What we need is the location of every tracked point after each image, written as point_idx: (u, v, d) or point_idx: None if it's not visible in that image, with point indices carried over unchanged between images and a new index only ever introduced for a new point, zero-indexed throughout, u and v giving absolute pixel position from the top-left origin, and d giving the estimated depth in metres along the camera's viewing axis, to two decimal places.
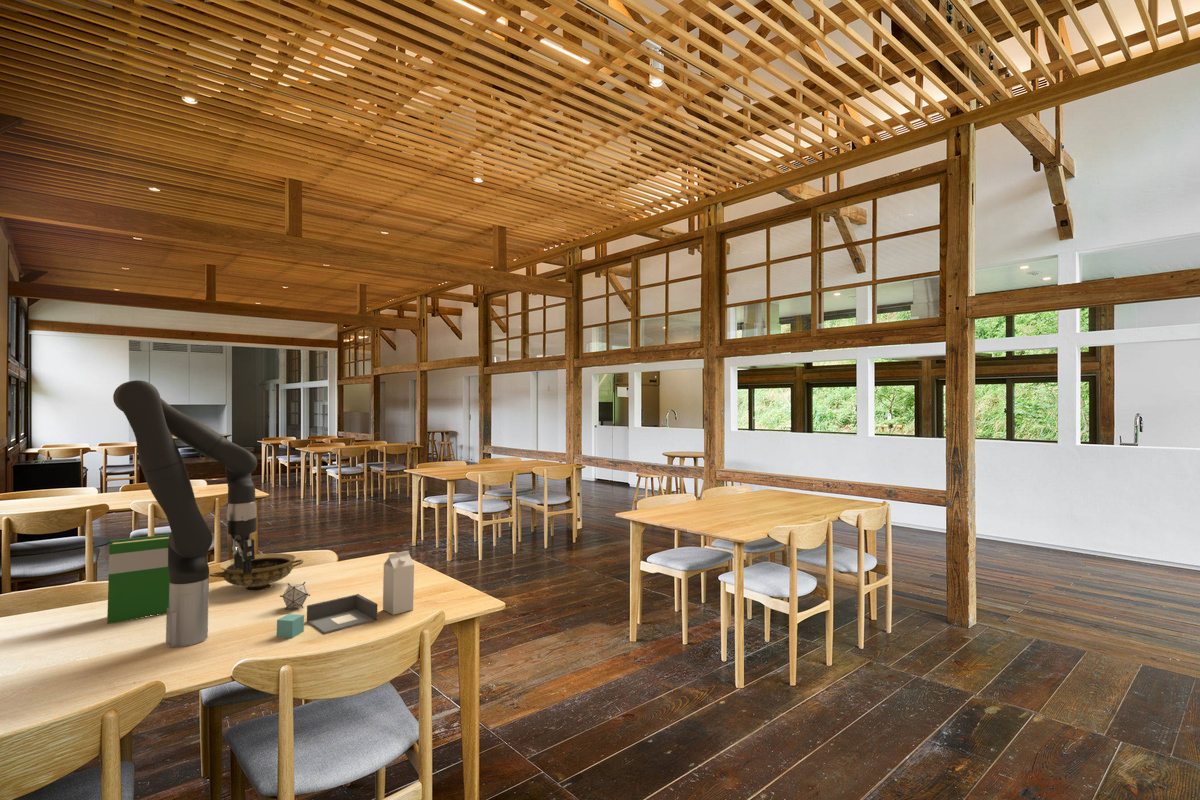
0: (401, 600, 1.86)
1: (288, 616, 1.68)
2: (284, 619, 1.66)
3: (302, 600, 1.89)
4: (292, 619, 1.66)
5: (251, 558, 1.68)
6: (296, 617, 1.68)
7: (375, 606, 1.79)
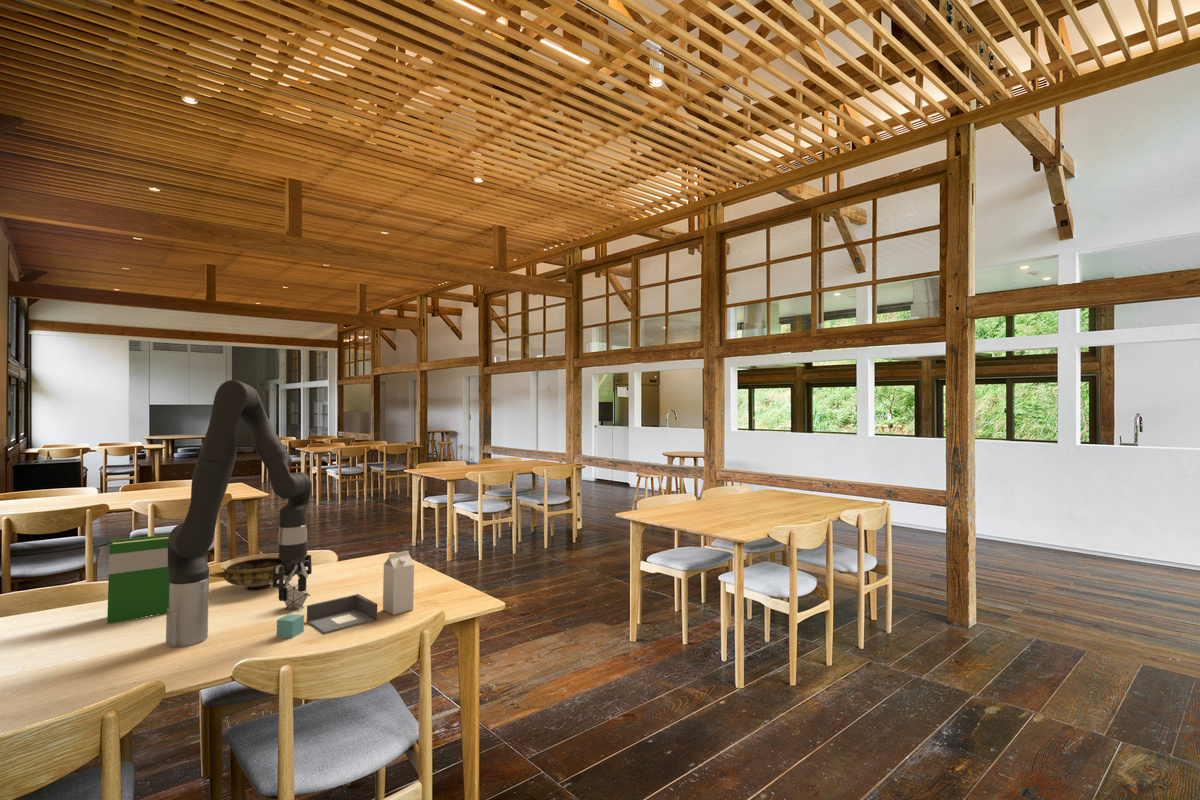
0: (401, 600, 1.86)
1: (288, 616, 1.68)
2: (284, 619, 1.66)
3: (302, 600, 1.89)
4: (292, 619, 1.66)
5: None
6: (296, 617, 1.68)
7: (375, 606, 1.79)
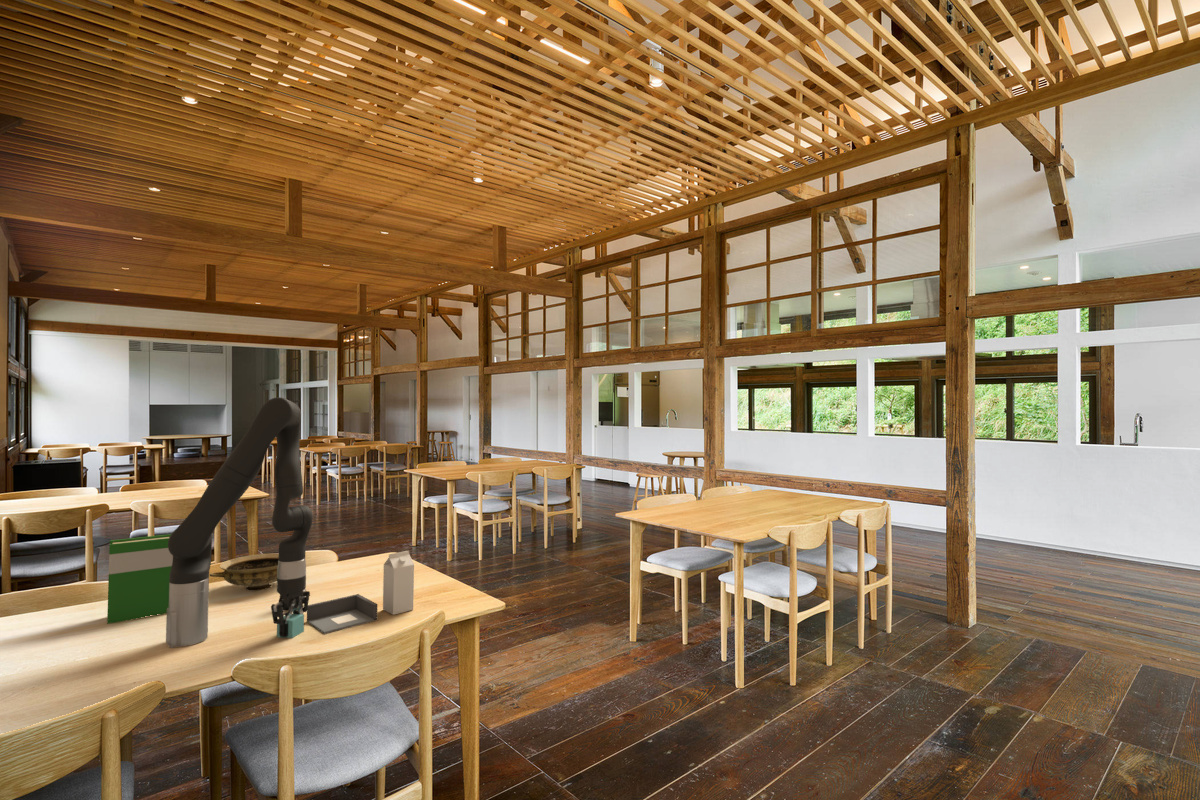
0: (401, 600, 1.86)
1: None
2: (284, 619, 1.66)
3: None
4: (292, 619, 1.66)
5: None
6: (296, 617, 1.68)
7: (375, 606, 1.79)
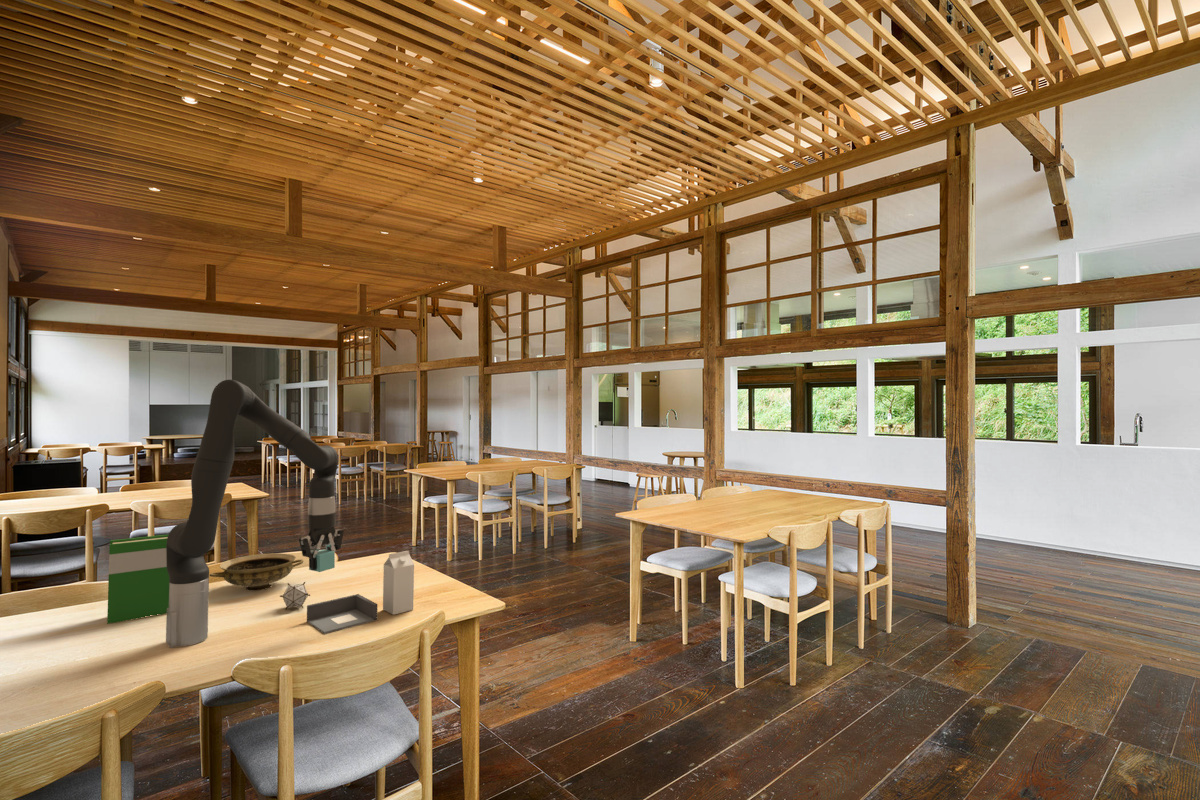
0: (401, 600, 1.86)
1: (321, 551, 1.75)
2: None
3: (302, 600, 1.89)
4: (320, 554, 1.72)
5: None
6: (326, 552, 1.73)
7: (375, 606, 1.79)
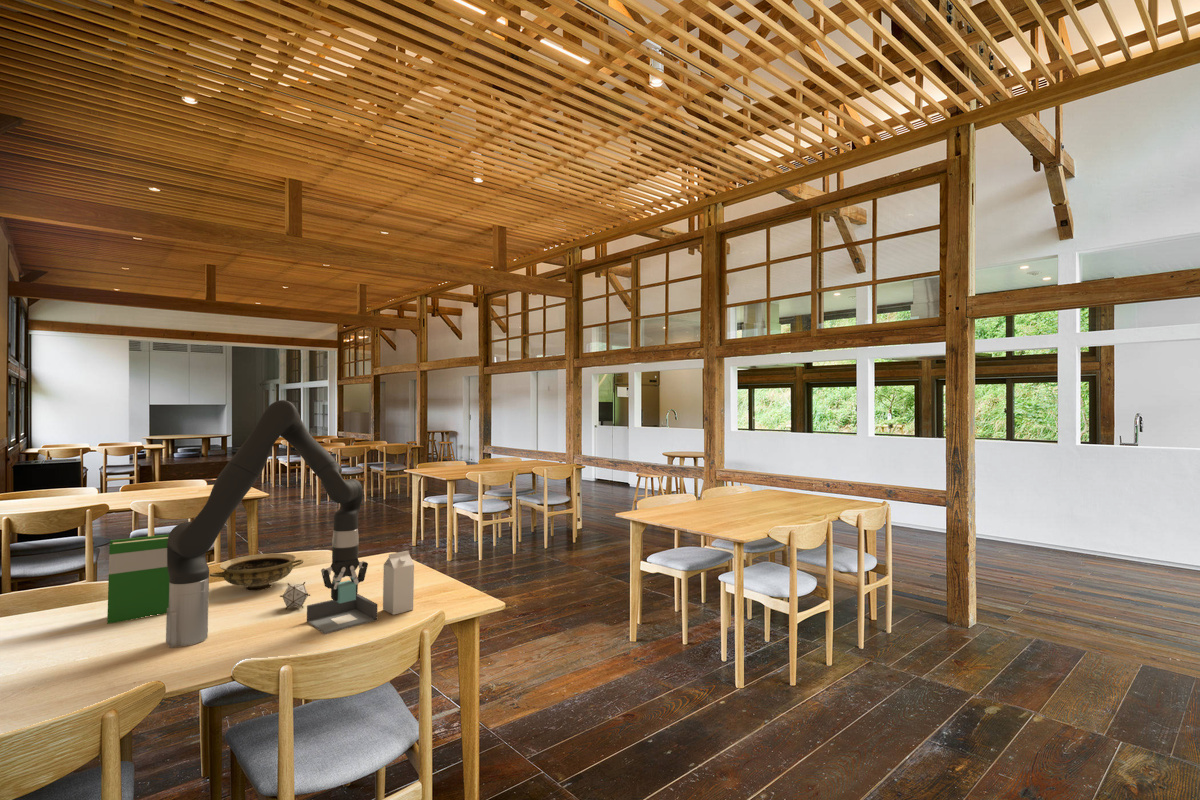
0: (401, 600, 1.86)
1: (344, 582, 1.80)
2: None
3: (302, 600, 1.89)
4: (341, 586, 1.76)
5: None
6: (347, 584, 1.78)
7: (375, 606, 1.79)
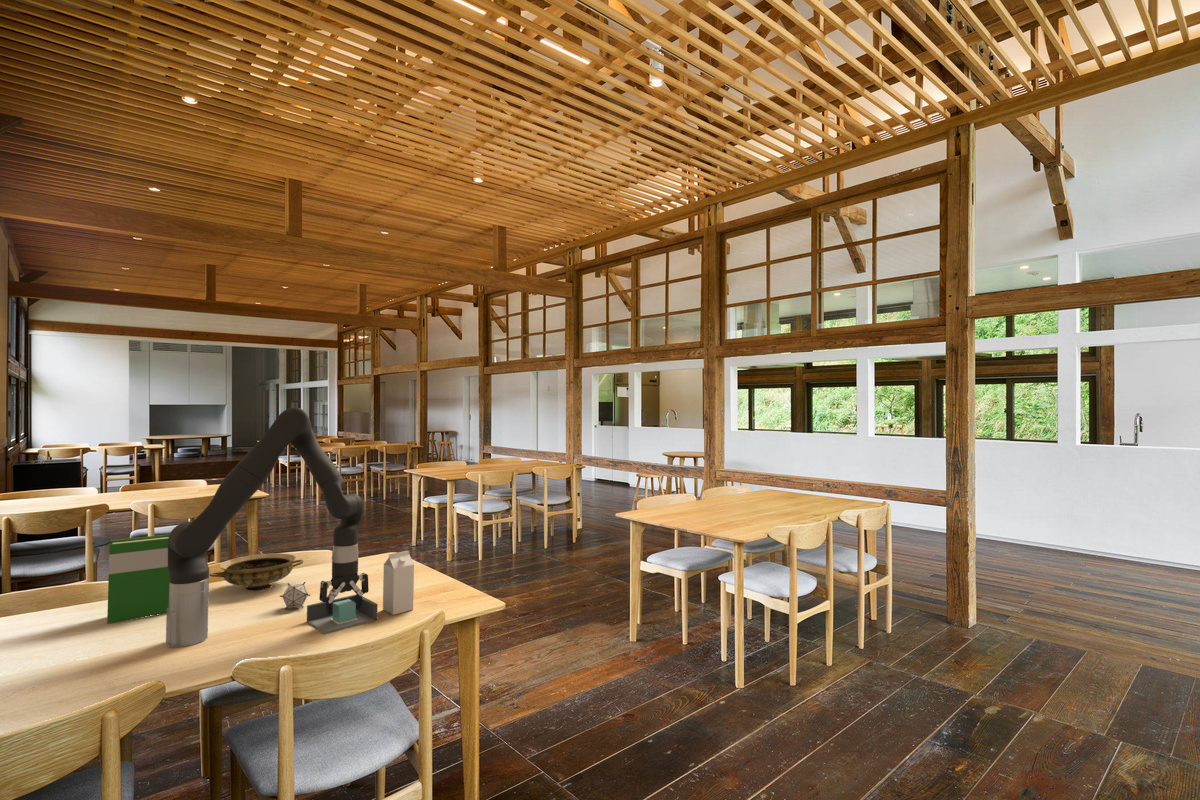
0: (401, 600, 1.86)
1: (344, 601, 1.79)
2: (337, 603, 1.78)
3: (302, 600, 1.89)
4: (341, 605, 1.76)
5: None
6: (347, 604, 1.78)
7: (375, 606, 1.79)
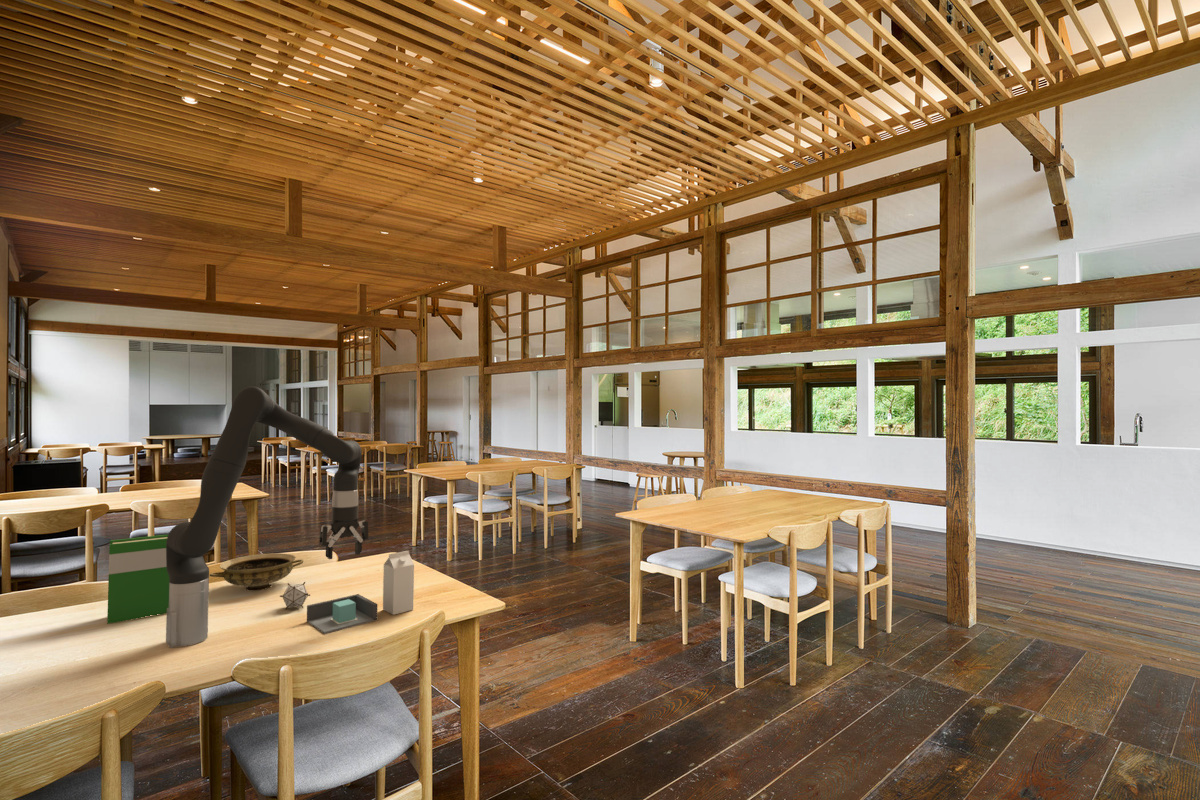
0: (401, 600, 1.86)
1: (344, 601, 1.79)
2: (337, 603, 1.78)
3: (302, 600, 1.89)
4: (341, 605, 1.76)
5: None
6: (347, 604, 1.78)
7: (375, 606, 1.79)
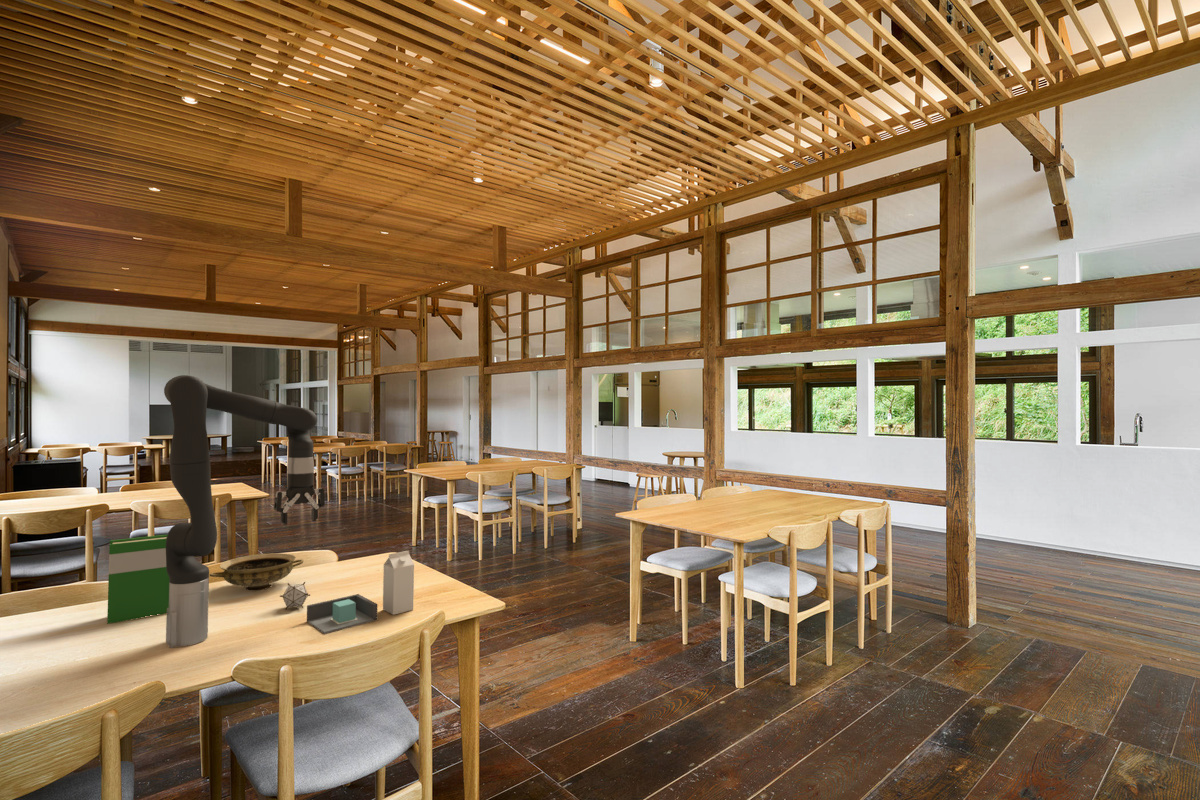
0: (401, 600, 1.86)
1: (344, 601, 1.79)
2: (337, 603, 1.78)
3: (302, 600, 1.89)
4: (341, 605, 1.76)
5: None
6: (347, 604, 1.78)
7: (375, 606, 1.79)
